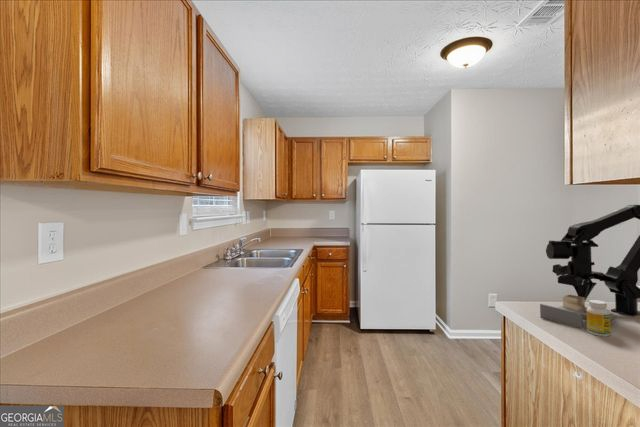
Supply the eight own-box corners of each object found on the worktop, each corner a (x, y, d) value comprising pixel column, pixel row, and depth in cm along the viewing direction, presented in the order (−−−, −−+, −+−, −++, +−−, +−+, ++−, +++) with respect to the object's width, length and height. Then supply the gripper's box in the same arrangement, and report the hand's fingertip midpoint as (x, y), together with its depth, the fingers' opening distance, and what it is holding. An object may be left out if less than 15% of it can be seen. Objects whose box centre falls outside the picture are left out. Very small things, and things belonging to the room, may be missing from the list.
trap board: (571, 309, 118) (571, 297, 118) (613, 319, 106) (612, 305, 106) (540, 316, 110) (540, 304, 110) (581, 328, 99) (581, 314, 99)
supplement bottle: (590, 328, 99) (589, 298, 99) (613, 333, 94) (612, 301, 94) (584, 332, 96) (583, 301, 96) (607, 338, 91) (606, 305, 91)
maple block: (570, 305, 116) (570, 294, 116) (584, 308, 112) (584, 297, 112) (563, 307, 114) (562, 296, 114) (577, 310, 110) (576, 299, 110)
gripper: (571, 254, 126) (573, 293, 126) (541, 258, 119) (543, 299, 119) (605, 257, 116) (607, 300, 116) (575, 262, 108) (576, 307, 108)
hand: (582, 301), depth 115 cm, fingers closed
